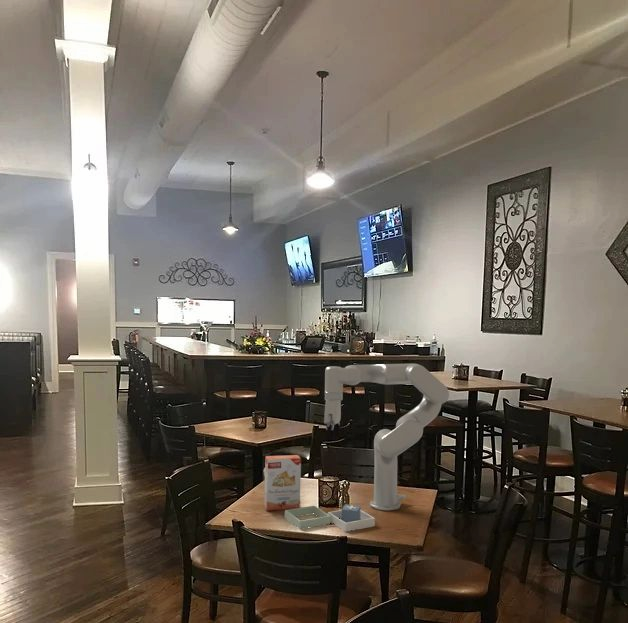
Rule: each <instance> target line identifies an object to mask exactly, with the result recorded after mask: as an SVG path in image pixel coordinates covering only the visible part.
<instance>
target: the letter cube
mask: <svg viewBox="0 0 628 623" xmlns="http://www.w3.org/2000/svg"><path fill="white" fill-rule="evenodd" d="M341 510H342V518H340V519H341V520H342V521H344V522H346V523H347V522H353V521H358V520H361V519H360V510H361V505H356V504H355V505H354V504H348V503H347V504H346V503H345V504H344V505H343V506H342V508H341Z"/></svg>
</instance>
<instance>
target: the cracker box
mask: <svg viewBox="0 0 628 623" xmlns="http://www.w3.org/2000/svg"><path fill="white" fill-rule="evenodd" d="M264 460H265V463H264V464H265V467H264V468H265V489H264V492H263V493H264V494H263V495H264V497H263V498H264V499H263V500H264V502H263V505H264V506H263V507H264V509H265V511H267V512H268V511H269V512H271V511H281V510H283V511H285V510H290V509H296V508H301V507H300V505H301V480H302V479H301V478H302V476H301V475H302V458H301V457H300V456H299V455H298V454H292V455H290V454H289V455H266V456H265V459H264Z"/></svg>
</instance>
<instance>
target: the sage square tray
mask: <svg viewBox="0 0 628 623" xmlns="http://www.w3.org/2000/svg"><path fill="white" fill-rule="evenodd" d="M313 513H314V514H313ZM306 514H310V515H315V516H316V515H317V517H314V518H308V519H303V520H300V518H298V517H303V516H302V515H304V516H307V515H306ZM296 516H298V517H296ZM285 518H286V519H285ZM284 519H285V520H287V521H288V522H289V521H290V522H289V523H290V524H292V525H293V524H294V525H295V527H296V528H297V527H298V528H299V529H298V528H297V529H298V530H300V529H301V530H304V529H303V528H306V529H309V528H308V527H311V528H316V527H315V526H317V527H321V525H322V526H327V525H326V524H328V525H331V524H332V523H331V516H330V515H328V512H327V513H326V511H324V510H322V509H320V508H319V507H318V506H316V505H309V506H303V507H300V508H296V509H285V510H284ZM330 523H331V524H330ZM294 525H293V526H294Z"/></svg>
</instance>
